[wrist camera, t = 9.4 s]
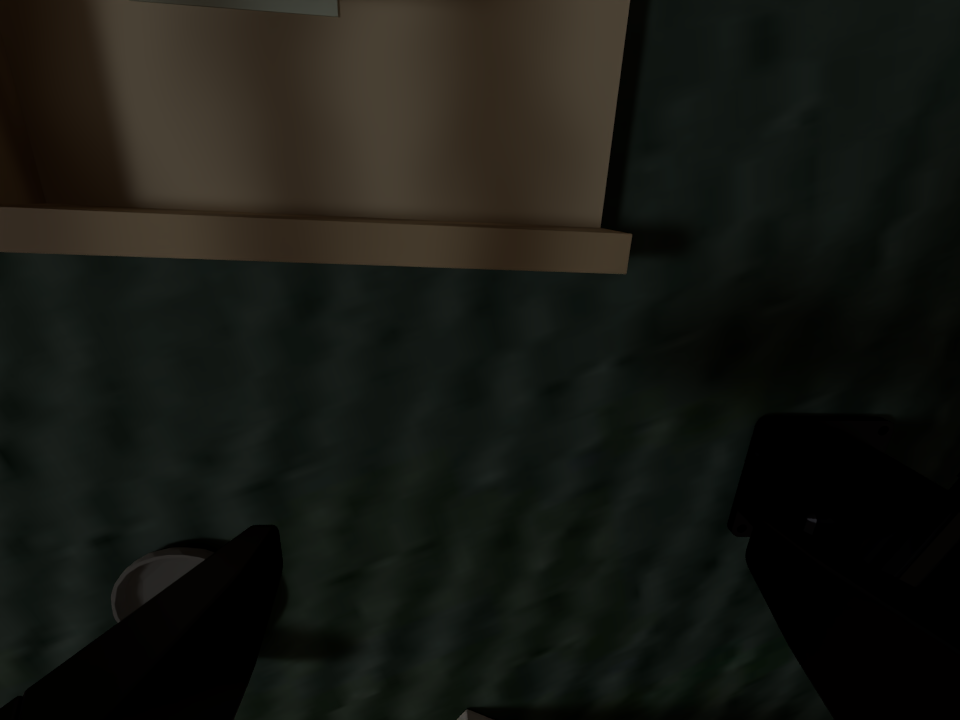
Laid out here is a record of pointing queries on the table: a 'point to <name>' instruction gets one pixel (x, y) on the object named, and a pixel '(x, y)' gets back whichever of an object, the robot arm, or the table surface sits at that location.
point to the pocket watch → (152, 577)
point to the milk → (472, 716)
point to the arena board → (313, 131)
